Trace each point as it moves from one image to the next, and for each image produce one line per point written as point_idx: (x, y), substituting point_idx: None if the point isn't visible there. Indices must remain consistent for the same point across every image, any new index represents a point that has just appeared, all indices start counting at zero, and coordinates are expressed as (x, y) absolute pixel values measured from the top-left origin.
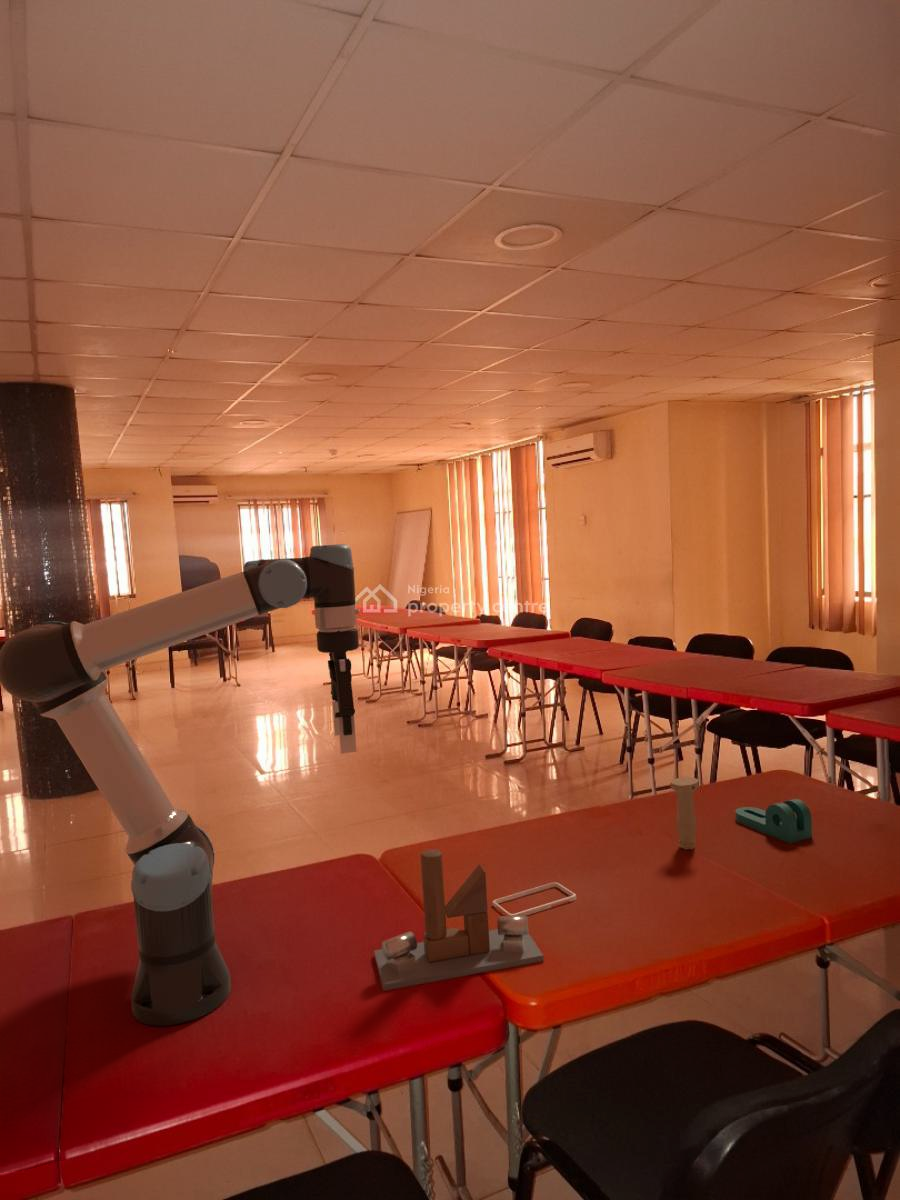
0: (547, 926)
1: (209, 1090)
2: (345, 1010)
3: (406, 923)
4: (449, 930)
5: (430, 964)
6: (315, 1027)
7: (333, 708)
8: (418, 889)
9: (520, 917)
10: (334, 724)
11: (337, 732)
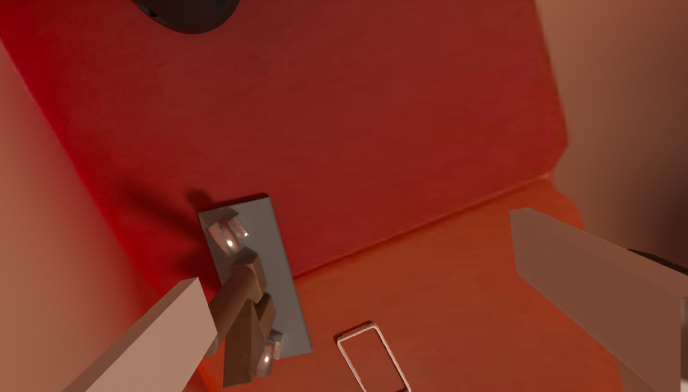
0: (317, 371)
1: (36, 62)
2: (166, 176)
3: (342, 227)
4: (255, 291)
5: (235, 259)
6: (137, 149)
7: (627, 272)
8: (431, 238)
9: (260, 370)
10: (543, 229)
11: (517, 227)
